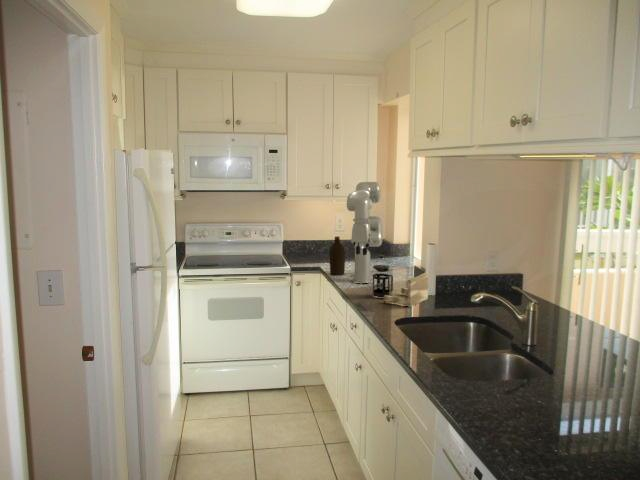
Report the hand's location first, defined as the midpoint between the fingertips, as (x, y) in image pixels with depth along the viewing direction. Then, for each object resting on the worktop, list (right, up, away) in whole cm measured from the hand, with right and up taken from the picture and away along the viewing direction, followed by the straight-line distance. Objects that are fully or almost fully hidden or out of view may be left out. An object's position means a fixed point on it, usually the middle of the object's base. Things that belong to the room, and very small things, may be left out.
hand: (361, 254), depth 269 cm
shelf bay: (+22, -24, -13) cm, 35 cm away
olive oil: (-11, -15, +54) cm, 57 cm away
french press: (+11, -23, -4) cm, 26 cm away
